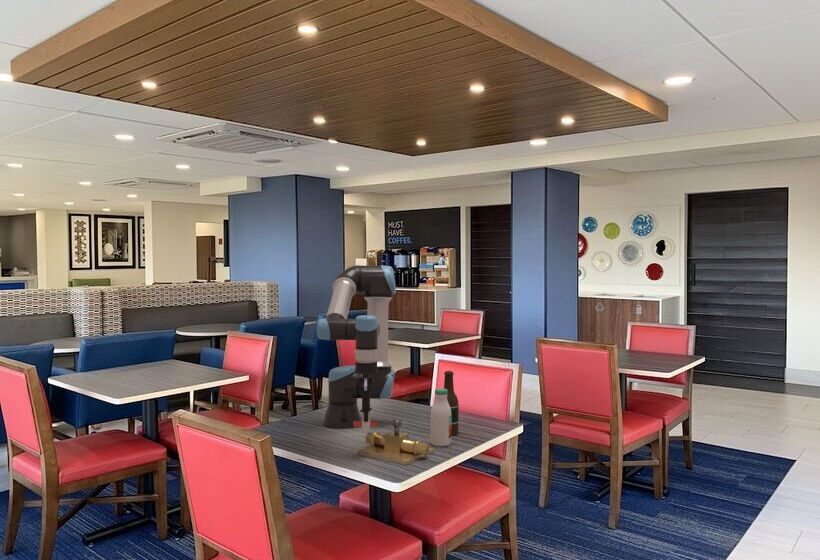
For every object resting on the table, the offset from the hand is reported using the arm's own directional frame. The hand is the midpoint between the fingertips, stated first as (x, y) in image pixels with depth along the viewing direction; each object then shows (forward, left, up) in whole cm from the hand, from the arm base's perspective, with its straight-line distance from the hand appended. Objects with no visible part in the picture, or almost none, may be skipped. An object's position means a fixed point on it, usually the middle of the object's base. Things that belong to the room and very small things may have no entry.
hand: (366, 430), depth 213 cm
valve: (+7, +9, -9) cm, 14 cm away
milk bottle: (+14, +27, -9) cm, 31 cm away
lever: (+2, +4, +1) cm, 5 cm away
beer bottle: (+9, +41, -9) cm, 43 cm away
